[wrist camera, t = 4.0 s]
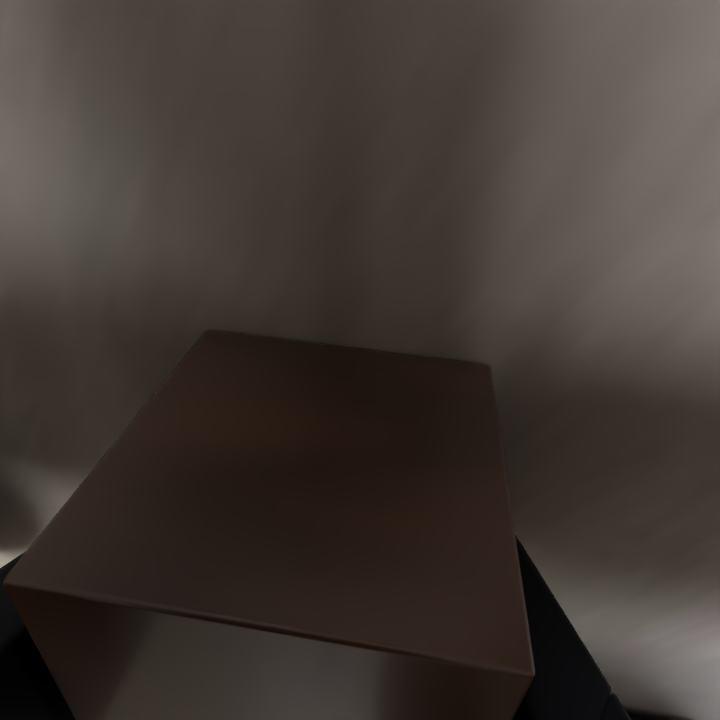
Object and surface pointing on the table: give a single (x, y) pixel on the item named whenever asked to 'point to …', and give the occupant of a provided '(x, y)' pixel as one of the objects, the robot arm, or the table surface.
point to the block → (289, 547)
